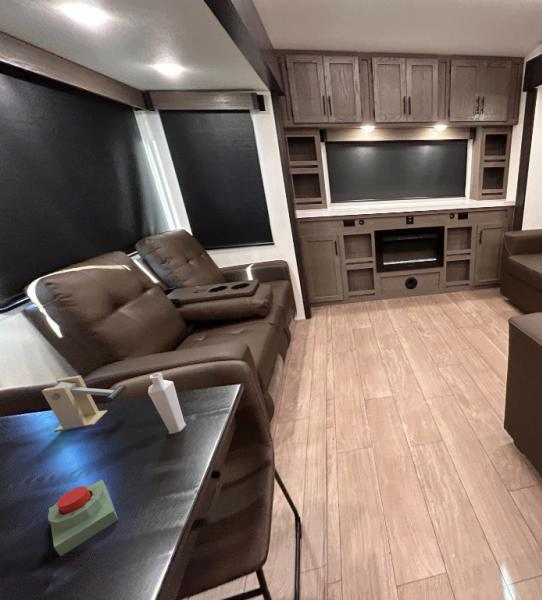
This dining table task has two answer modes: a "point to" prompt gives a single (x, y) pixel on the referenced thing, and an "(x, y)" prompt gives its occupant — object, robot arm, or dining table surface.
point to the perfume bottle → (166, 402)
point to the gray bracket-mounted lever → (94, 390)
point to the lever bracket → (72, 405)
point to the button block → (82, 519)
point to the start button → (74, 500)
